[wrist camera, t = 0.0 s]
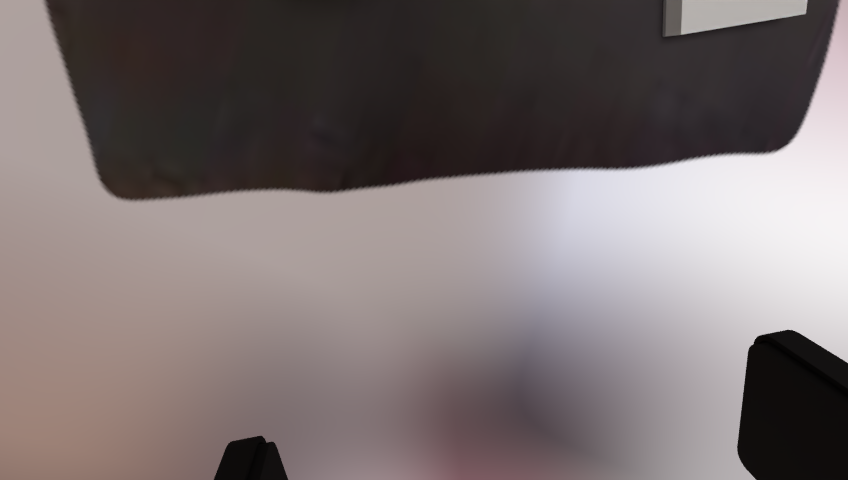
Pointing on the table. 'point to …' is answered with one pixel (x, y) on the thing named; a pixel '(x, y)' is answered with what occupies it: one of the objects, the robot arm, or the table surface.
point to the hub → (723, 13)
